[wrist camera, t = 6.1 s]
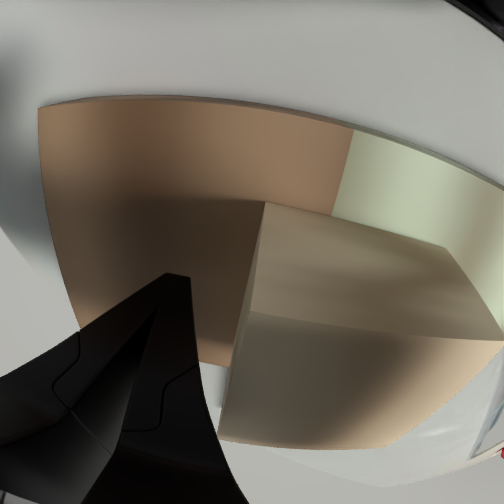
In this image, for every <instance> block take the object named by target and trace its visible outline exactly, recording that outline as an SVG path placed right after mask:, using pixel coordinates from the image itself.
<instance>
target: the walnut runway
mask: <svg viewBox="0 0 504 504" xmlns="http://www.w3.org/2000/svg"><path fill="white" fill-rule="evenodd" d="M38 136H39V153H40V165H41V174H42V183H43V190H44V197H45V203H46V209H47V215H48V220H49V225H50V230H51V234H52V239H53V243H54V247H55V251H56V255H57V259H58V263H59V267H60V270H61V274H62V277H63V280H64V284H65V287H66V290H67V293H68V296H69V299H70V302H71V305H72V308H73V311H74V313H75V316H76V319H77V321H78V324H79V326H80V328H83V327H84V326H86V325H87V324H89V323H90V322H92V321H93V320H95V319H96V318H98V317H99V316H101V315H102V314H103V313H105V312H106V311H108V310H109V309H111V308H112V307H114V306H115V305H117V304H118V303H120V302H121V301H123V300H124V299H126V298H127V297H129V296H130V295H132V294H133V293H135V292H136V291H138V290H139V289H141V288H142V287H144V286H146V285H147V284H149V283H150V282H152V281H153V280H155V279H156V278H158V277H159V276H161V275H162V274H164V273H166V272H169V273H173V274H178V275H183V276H188V277H190V278H191V287H192V299H193V311H194V321H195V331H196V341H197V350H198V358H199V362H204V363H209V364H214V365H219V366H224V367H229V366H230V361H231V355H232V350H233V344H234V340H235V336H236V331H237V327H238V322H239V318H240V313H241V309H242V305H243V300H244V296H245V291H246V287H247V282H248V278H249V274H250V269H251V265H252V260H253V256H254V251H255V247H256V242H257V238H258V233H259V229H260V225H261V220H262V216H263V211H264V207H265V202H269V203H274V204H279V205H283V206H288V207H292V208H297V209H301V210H305V211H309V212H314V213H318V214H322V215H326V216H330V217H334V218H338V219H342V220H346V221H350V222H354V223H358V224H362V225H366V226H369V227H373V228H377V229H380V230H384V231H388V232H391V233H395V234H398V235H402V236H405V237H409V238H412V239H416V240H419V241H422V242H426V243H429V244H432V245H435V246H439V247H442V248H445V249H447V250H448V251H449V253H450V254H451V255H452V256H453V258H454V259H455V260H456V262H457V263H458V264H459V266H460V267H461V269H462V270H463V271H464V273H465V274H466V275H467V277H468V278H469V280H470V281H471V283H472V284H473V286H474V287H475V289H476V290H477V291H478V293H479V295H480V296H481V298H482V299H483V301H484V302H485V304H486V305H487V307H488V309H489V310H490V312H491V314H492V315H493V317H494V319H495V320H496V322H497V324H498V325H499V327H500V329H501V331H502V332H503V334H504V187H503V186H501V185H500V184H498V183H496V182H494V181H493V180H491V179H489V178H487V177H485V176H483V175H481V174H479V173H478V172H476V171H474V170H472V169H470V168H468V167H466V166H463V165H461V164H459V163H457V162H455V161H453V160H451V159H448V158H446V157H444V156H442V155H439V154H437V153H435V152H432V151H430V150H427V149H425V148H422V147H420V146H417V145H415V144H412V143H410V142H407V141H404V140H401V139H399V138H396V137H393V136H390V135H387V134H384V133H381V132H378V131H375V130H372V129H369V128H365V127H362V126H359V125H355V124H352V123H348V122H344V121H341V120H337V119H333V118H329V117H325V116H321V115H317V114H312V113H308V112H303V111H298V110H293V109H288V108H283V107H277V106H272V105H265V104H259V103H252V102H245V101H237V100H229V99H219V98H208V97H194V96H175V95H121V96H102V97H90V98H83V99H77V100H72V101H67V102H62V103H58V104H53V105H49V106H45V107H41V108H38Z"/></svg>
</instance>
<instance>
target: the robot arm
mask: <svg viewBox="0 0 504 504" xmlns="http://www.w3.org/2000/svg"><path fill="white" fill-rule="evenodd" d="M448 1H450V2H452V3H453V4H455V5H457V6H458V7H460V8H462V9H463V10H465V11H466V12H468V13H469V14H471V15H472V16H474V17H475V18H477V19H478V20H479V21H481V22H482V23H484V24H485V25H486V26H488V27H489V28H490V29H492V30H493V31H494V32H496V33H497V34H498V35H499V36H501V37H502V38H503V39H504V0H448ZM0 504H249V502H248V501H247V499H246V498H245V496H244V494H243V493H242V491H241V490H240V488H239V486H238V484H237V483H236V481H235V479H234V477H233V475H232V473H231V471H230V468H229V466H228V464H227V461H226V459H225V456H224V453H223V451H222V448H221V445H220V443H219V440H218V437H217V434H216V432H215V429H214V426H213V423H212V420H211V417H210V414H209V411H208V407H207V404H206V400H205V396H204V391H203V386H202V380H201V373H200V367H199V358H198V350H197V341H196V331H195V321H194V311H193V299H192V287H191V278H190V277H188V276H183V275H178V274H173V273H169V272H166V273H164V274H162V275H161V276H159V277H158V278H156V279H155V280H153V281H152V282H150V283H149V284H147V285H146V286H144V287H142V288H141V289H139V290H138V291H136V292H135V293H133V294H132V295H130V296H129V297H127V298H126V299H124V300H123V301H121V302H120V303H118V304H117V305H115V306H114V307H112V308H111V309H109V310H108V311H106V312H105V313H103V314H102V315H101V316H99V317H98V318H96V319H95V320H93V321H92V322H90V323H89V324H87V325H86V326H84V327H83V328H82V329H80V331H79V332H78V331H77V332H76V333H74V334H73V335H71V336H70V337H69V338H67V339H65V340H64V341H62V342H61V343H59V344H58V345H57V346H55V347H53V348H52V349H50V350H48V351H47V352H45V353H43V354H41V355H40V356H38V357H36V358H35V359H33V360H31V361H29V362H27V363H26V364H24V365H22V366H21V367H19V368H17V369H15V370H13V371H12V372H10V373H8V374H6V375H4V376H2V377H0Z"/></svg>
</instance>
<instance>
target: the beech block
mask: <svg viewBox="0 0 504 504" xmlns="http://www.w3.org/2000/svg"><path fill="white" fill-rule="evenodd" d="M503 346H504V334H503V332H502V331H501V329H500V327H499V325H498V324H497V322H496V320H495V319H494V317H493V315H492V314H491V312H490V310H489V309H488V307H487V305H486V304H485V302H484V301H483V299H482V298H481V296H480V295H479V293H478V291H477V290H476V289H475V287H474V286H473V284H472V283H471V281H470V280H469V278H468V277H467V275H466V274H465V273H464V271H463V270H462V269H461V267H460V266H459V264H458V263H457V262H456V260H455V259H454V258H453V256H452V255H451V254H450V253H449V251H448V250H447V249H445V248H442V247H439V246H435V245H432V244H429V243H426V242H422V241H419V240H416V239H412V238H409V237H405V236H402V235H398V234H395V233H391V232H388V231H384V230H380V229H377V228H373V227H369V226H366V225H362V224H358V223H354V222H350V221H346V220H342V219H338V218H334V217H330V216H326V215H322V214H318V213H314V212H309V211H305V210H301V209H297V208H292V207H288V206H283V205H279V204H274V203H269V202H265V207H264V211H263V216H262V220H261V225H260V229H259V233H258V238H257V242H256V247H255V251H254V256H253V260H252V265H251V269H250V274H249V278H248V282H247V287H246V291H245V296H244V300H243V305H242V309H241V313H240V318H239V322H238V327H237V331H236V336H235V340H234V344H233V350H232V355H231V361H230V366H229V371H228V377H227V382H226V388H225V393H224V399H223V404H222V410H221V415H220V421H219V426H218V431H217V437H218V439H219V440H225V441H230V442H237V443H244V444H251V445H258V446H267V447H277V448H290V449H311V450H349V449H368V448H381V447H386V446H388V445H390V444H391V443H393V442H394V441H396V440H397V439H399V438H400V437H402V436H403V435H405V434H406V433H408V432H409V431H411V430H412V429H413V428H415V427H416V426H418V425H419V424H420V423H422V422H423V421H424V420H426V419H427V418H428V417H429V416H431V415H432V414H433V413H435V412H436V411H437V410H438V409H440V408H441V407H442V406H443V405H444V404H446V403H447V402H448V401H449V400H450V399H451V398H453V397H454V396H455V395H456V394H457V393H458V392H459V391H460V390H461V389H463V388H464V387H465V386H466V385H467V384H468V383H469V382H470V381H471V380H472V379H473V378H474V377H475V376H476V375H477V374H478V373H479V372H480V371H481V370H482V369H483V368H484V367H485V366H486V365H487V364H488V363H489V362H490V360H491V359H492V358H493V357H494V356H495V355H496V354H497V353H498V352H499V350H500V349H501V348H502V347H503Z"/></svg>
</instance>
